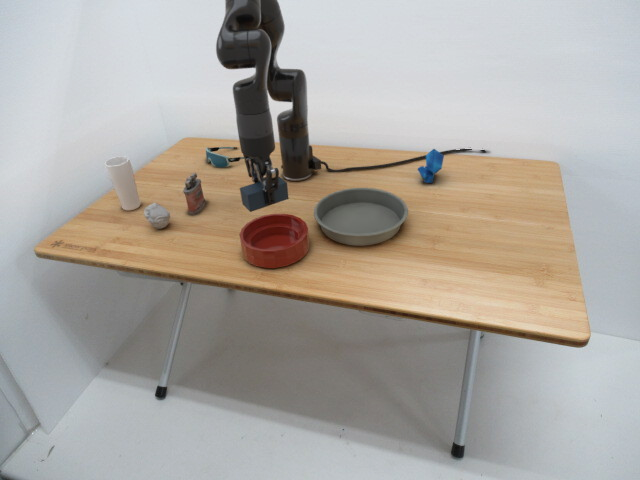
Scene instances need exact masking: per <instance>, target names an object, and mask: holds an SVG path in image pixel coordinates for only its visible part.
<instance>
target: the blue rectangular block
mask: <svg viewBox="0 0 640 480" xmlns="http://www.w3.org/2000/svg"><path fill="white" fill-rule="evenodd" d="M265 184H266V182H265ZM239 192H240V197H241V203H242V205H243V206H244V207H245V209H246V210H247V211H248V212H249V213H252V212H255V211H258V210H261V209H264V208H266V207H269V206H271V205H269V206H267V205H266V204H265V198H264V191H263V187H262V183H261V182H257V183H255V182H254V183H251V184H248V185H244V186H241V187H239ZM274 197H275V203H274V204H278V203H282V202H284V201H287V200H289V199H290V198H289V190H288V182H287V181H286V180H285V179H284V178H282V177H281V176H279V181H278V190H275V191H274ZM274 204H273V205H274Z"/></svg>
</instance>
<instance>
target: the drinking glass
mask: <svg viewBox="0 0 640 480" xmlns="http://www.w3.org/2000/svg"><path fill="white" fill-rule="evenodd" d="M104 167H105V170H106V173H107V176H108V179H109V181H110V182H111V186H112V187H113V190H114V191H115V194H116V196H117V198H118V200H119V201H118V202H119V203H120V206H121V208H122V210H123V211H127V212H128V211H129V212H130V211H135V210H137V209H138V208H140V207H141V204H142V203H141V199H140V196H139V191H138V187H137V183H136V177H135V173H134V169H133V167H132V163H131V161H130V158H129V156H123V155H122V156H120V155H119V156H114V157H111V158H108V159H107V160H106V161H105V162H104Z"/></svg>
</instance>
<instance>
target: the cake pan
mask: <svg viewBox="0 0 640 480" xmlns="http://www.w3.org/2000/svg"><path fill="white" fill-rule="evenodd" d="M408 214H409V207H408V205H407V203H406V202H405V201H404V200H403V199H402V198H401V197H399V196H398V195H396V194H394V193H392V192H389V191H387V190H383V189H379V188H373V187H350V188H344V189H340V190H336V191H334V192H331V193H329V194H327V195H325V196H324V197H322V198H321V199H320V200H319V201H318V202H317V203H316V204H315V206H314V209H313V217H314V219H315V220H316V222H317V223H318V224H319V225H320V228H321V231H322V232H323V234H324V235H325V236H326V237H328V238H329V239H331V240H333V241H334V242H337V243H338V244H339V243H340V244H343V245H348V246H357V247H358V246H359V247H361V246H362V247H363V246H372V245H378V244H381V243H383V242H385V241H388V240H390V239H391V238H393V237H394V236H395V235H396V234H397V233H398V232H399V231H400V228H401V226H402V224H403V223H404V222H405V221H406V220H407V218H408Z"/></svg>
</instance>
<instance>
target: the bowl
mask: <svg viewBox="0 0 640 480" xmlns="http://www.w3.org/2000/svg"><path fill="white" fill-rule="evenodd" d="M239 239H240V245H241V250H242V256H243V258H244V259H245V260H246V261H247V263H249V264H251V265H253V266H256V267H259V268H265V269H277V268H281V267H282V268H283V267H287V266H290V265H292V264H295V263H297V262H298V261H299V260H301V259H302V258H304V257H305V255H306V254H307V253H308V251H309V249H310V237H309V227H308V224H307V222H306V221H304V220H303V219H302V218H301V217H298V216H296V215H294V214H288V213H269V214H264V215H262V216H258V217H256V218H253V219H252V220H250V221H249V222H247V223H245V224H244V226H243V227H242V228H241V230H240V232H239Z"/></svg>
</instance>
